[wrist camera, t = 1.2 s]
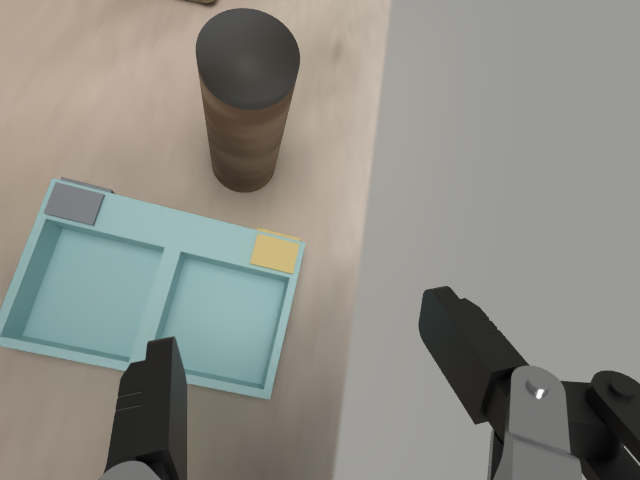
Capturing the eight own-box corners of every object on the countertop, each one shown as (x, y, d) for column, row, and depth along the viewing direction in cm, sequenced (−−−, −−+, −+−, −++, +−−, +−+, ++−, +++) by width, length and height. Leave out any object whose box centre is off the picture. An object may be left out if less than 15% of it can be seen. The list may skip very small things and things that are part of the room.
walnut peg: (198, 162, 31) (172, 50, 18) (241, 121, 32) (245, -10, 20) (245, 204, 31) (252, 120, 18) (287, 162, 32) (320, 56, 20)
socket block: (14, 341, 26) (-17, 343, 23) (72, 189, 29) (51, 171, 26) (266, 392, 28) (270, 400, 25) (300, 246, 31) (307, 237, 28)
